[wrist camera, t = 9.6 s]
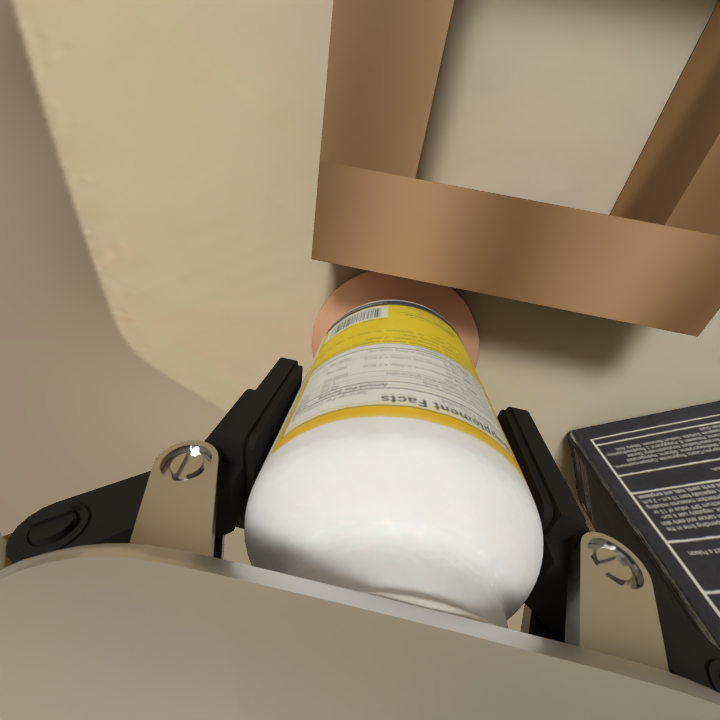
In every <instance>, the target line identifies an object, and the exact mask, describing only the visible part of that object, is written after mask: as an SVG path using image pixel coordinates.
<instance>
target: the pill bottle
mask: <svg viewBox="0 0 720 720" xmlns="http://www.w3.org/2000/svg"><path fill="white" fill-rule="evenodd" d="M244 531H245V543H246V548H247V552H248V556H249V559H250V562H251V565H252V566H254V567H258V568H262V569H267V570H271V571H275V572H279V573H283V574H287V575H292V576H296V577H300V578H304V579H308V580H312V581H317V582H321V583H325V584H329V585H333V586H337V587H341V588H346V589H350V590H354V591H358V592H362V593H366V594H370V595H374V596H378V597H382V598H386V599H390V600H394V601H399V602H403V603H407V604H411V605H415V606H419V607H423V608H427V609H431V610H435V611H439V612H443V613H447V614H451V615H455V616H459V617H463V618H467V619H471V620H475V621H479V622H483V623H487V624H491V625H495V626H499V627H503V628H507V629H508V625H507V620H508V619H509V618H510V617H511V616H513V615H514V614H515V613H516V612H517V611H518V609H519V608H520V607H521V606H522V605H523V604H524V602H525V601H526V599H527V598H528V596H529V595H530V593H531V591H532V589H533V587H534V585H535V583H536V581H537V578H538V576H539V573H540V569H541V564H542V558H543V531H542V525H541V520H540V516H539V513H538V510H537V507H536V505H535V502H534V500H533V497H532V495H531V492H530V490H529V488H528V485H527V483H526V480H525V478H524V476H523V474H522V472H521V469H520V467H519V465H518V463H517V461H516V458H515V456H514V454H513V452H512V450H511V448H510V445H509V443H508V441H507V439H506V437H505V435H504V432H503V430H502V428H501V426H500V423H499V421H498V419H497V417H496V414H495V412H494V410H493V408H492V405H491V403H490V401H489V399H488V397H487V395H486V392H485V390H484V388H483V386H482V384H481V381H480V379H479V377H478V375H477V373H476V371H475V368H474V366H473V364H472V362H471V360H470V358H469V355H468V353H467V351H466V348H465V346H464V344H463V342H462V340H461V339H460V337H459V335H458V334H457V332H456V331H455V330H454V328H453V327H452V326H451V325H450V324H449V322H447V321H446V320H445V319H444V318H443V317H442V316H440V315H439V314H438V313H436V312H434V311H433V310H431V309H429V308H427V307H425V306H423V305H420V304H417V303H413V302H409V301H404V300H380V301H374V302H370V303H367V304H364V305H361V306H359V307H356V308H354V309H352V310H351V311H349V312H347V313H346V314H344V315H343V316H342V317H340V318H339V319H338V320H337V321H336V322H335V323H334V324H333V325H332V326H331V327H330V329H329V330H328V331H327V333H326V334H325V336H324V338H323V340H322V342H321V344H320V346H319V348H318V350H317V353H316V355H315V357H314V360H313V362H312V364H311V366H310V368H309V370H308V372H307V375H306V377H305V379H304V381H303V383H302V385H301V387H300V389H299V391H298V393H297V395H296V398H295V400H294V402H293V404H292V406H291V408H290V410H289V412H288V415H287V417H286V419H285V421H284V423H283V425H282V427H281V429H280V431H279V434H278V436H277V438H276V440H275V442H274V444H273V446H272V448H271V450H270V452H269V454H268V456H267V458H266V460H265V462H264V464H263V466H262V468H261V471H260V473H259V475H258V477H257V479H256V481H255V483H254V485H253V487H252V490H251V493H250V496H249V499H248V503H247V508H246V513H245V522H244Z"/></svg>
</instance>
